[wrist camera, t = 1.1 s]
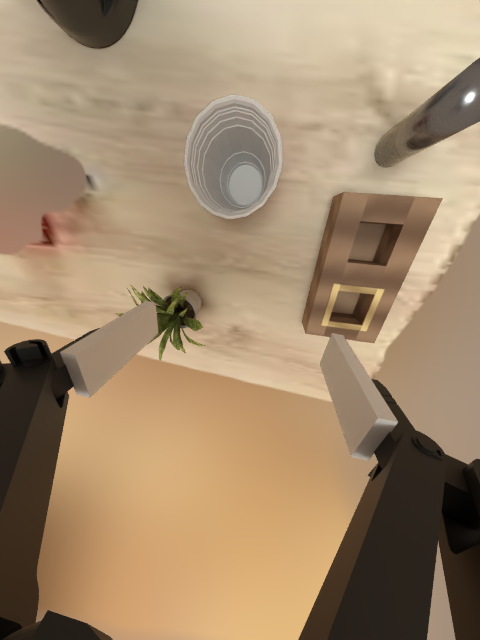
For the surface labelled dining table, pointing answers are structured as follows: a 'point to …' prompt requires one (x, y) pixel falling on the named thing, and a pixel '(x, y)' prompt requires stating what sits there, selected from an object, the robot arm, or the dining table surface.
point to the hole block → (364, 262)
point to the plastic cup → (233, 156)
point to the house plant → (174, 315)
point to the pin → (434, 119)
